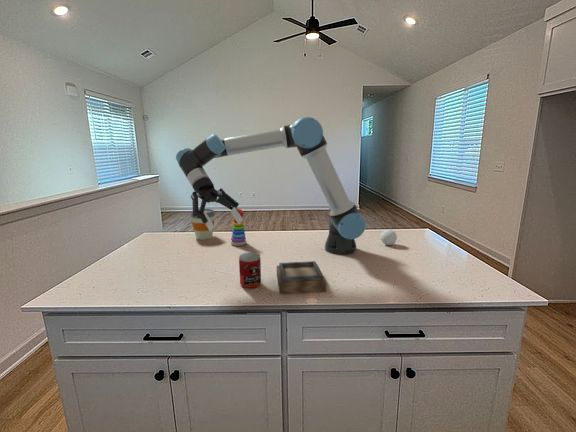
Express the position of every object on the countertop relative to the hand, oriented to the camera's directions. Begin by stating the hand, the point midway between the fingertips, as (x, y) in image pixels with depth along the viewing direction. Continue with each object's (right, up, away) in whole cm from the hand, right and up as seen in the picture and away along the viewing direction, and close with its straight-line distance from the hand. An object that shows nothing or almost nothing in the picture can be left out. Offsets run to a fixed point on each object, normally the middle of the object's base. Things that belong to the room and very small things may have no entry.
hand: (227, 225), depth 113 cm
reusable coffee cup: (-24, -8, +58) cm, 63 cm away
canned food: (+9, -22, -2) cm, 23 cm away
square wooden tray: (+27, -21, -1) cm, 34 cm away
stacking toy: (-3, -11, +45) cm, 46 cm away
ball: (+74, -11, +42) cm, 85 cm away
